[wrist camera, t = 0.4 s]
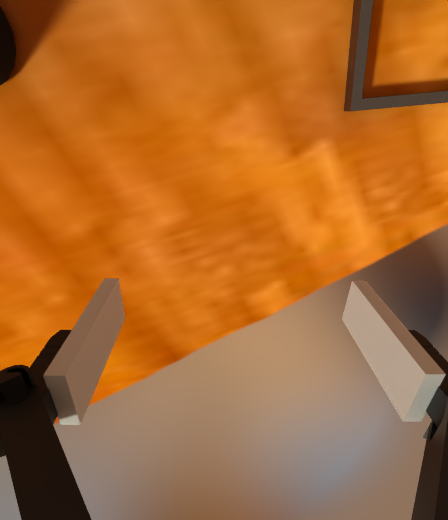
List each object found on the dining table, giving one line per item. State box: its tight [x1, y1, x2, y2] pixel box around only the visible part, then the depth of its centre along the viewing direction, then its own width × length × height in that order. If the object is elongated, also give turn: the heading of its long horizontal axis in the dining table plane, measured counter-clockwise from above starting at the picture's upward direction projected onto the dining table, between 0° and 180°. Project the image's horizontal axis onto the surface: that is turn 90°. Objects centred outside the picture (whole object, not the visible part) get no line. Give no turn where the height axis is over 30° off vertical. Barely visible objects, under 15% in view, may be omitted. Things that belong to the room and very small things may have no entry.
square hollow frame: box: [344, 0, 448, 111], centre depth 33 cm, size 14×14×2 cm
